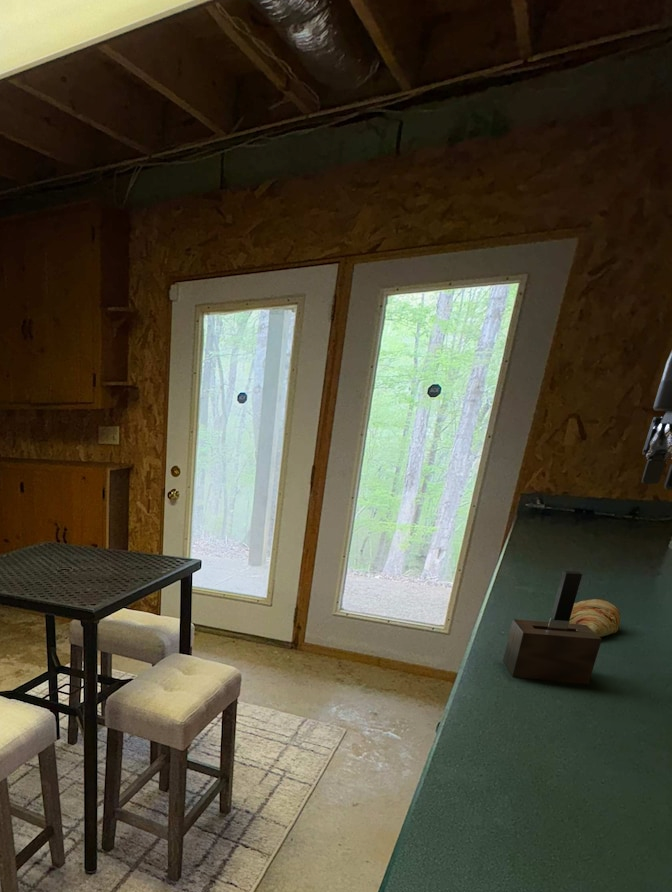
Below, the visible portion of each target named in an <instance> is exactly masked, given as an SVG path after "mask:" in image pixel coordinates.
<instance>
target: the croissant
mask: <svg viewBox="0 0 672 892" xmlns="http://www.w3.org/2000/svg"><path fill="white" fill-rule="evenodd" d="M620 623H621V613H620V610H619V609H618V608H617V607H616V606H615V605H614V604H613V603H611V602H609V601H607V600H606V599H600V598H591V599H584V600H581V601H577V602H574V606H573V609H572V613H571V617H570V621H569V624H581V625H587V626H588V627H589V628H590V629H591V630H592V631H593V632H594V633H596V634H597V635H598V636H599V637H600V638H601V637H602V638H603V637H605V636H609V635H611V634H615V633H617V632H618V631H619V628H620Z"/></svg>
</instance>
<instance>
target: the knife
mask: <svg viewBox="0 0 672 892" xmlns="http://www.w3.org/2000/svg"><path fill="white" fill-rule="evenodd" d="M582 576H583V573H582V572H580V571H576V570H575V571H574V570H563V571H562V573H561V578H560V582H559V585H558V589H557V592H556V596H555V600H554V603H553V608H552V611H551V614H550V615H551V616H550V618H549V621H548V622H549V625H548V628H547V630H557V631H567V628H568V625H569V621H570V617H571V613H572V609H573V606H574V604H575V603H576V598H577V595H578V591H579V587H580V584H581V581H582Z"/></svg>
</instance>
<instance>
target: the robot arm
mask: <svg viewBox="0 0 672 892" xmlns="http://www.w3.org/2000/svg"><path fill="white" fill-rule="evenodd" d="M652 407H653V410H654V411H657V412H665V413H664V415H663V416H654V417H653V419H652V420H651V424H650V427H649V430H648V433H647V436H646V438H645V443H644V446H643V449H642V450H641V451H642V452H641V453H642V455H644V456H645V460H647V461H646V464H645V467H644V471H643V473H642V477H641V483H643V484H645V485H646V484H648V485H651V484H652V485H656V484H659V483H660V481H661V478H662V475H663V472H664V469H665V465H666V461H667V458H668V457H669V455H670V454H671V458H672V350H671V351H670V353H669V356H668V358H667V359H666V362H665V365H664V369H663V373H662V376H661V379H660V383H659V386H658V389H657V392H656V396H655V400H654V402H653V406H652ZM663 488H664V489H665V490H668V491H669V490H670V491H672V464H670V466H669V469H668V473H667V475H666V478H665V481H664V485H663Z"/></svg>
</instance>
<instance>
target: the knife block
mask: <svg viewBox="0 0 672 892" xmlns="http://www.w3.org/2000/svg"><path fill="white" fill-rule="evenodd" d="M548 625H549V621H540V620H525V619H515V618H514V619H512V621H511V626H510V629H509V633H508V638H507V641H506V646H505V649H504V654H503V657H502V662H503V664H504V665H505V667H506V668H507V670H508V672H509V674H510V675H511V676H512V678H522V679H523V678H524V679H533V680H541V681H550V682H552V681H553V682H561V683H562V682H563V683H571V684H580V685H581V684H582V685H589V683H590V680H591V677H592V674H593V670H594V667H595V663H596V660H597V656H598V654H599V650H600V647H601V644H602V640H603V639H602V638H601V637H599V636H598V635H597V634H596V633H594V632H593V631H592V630H591V629H590V628H589V627H588V626H587V625H581V624H569V625H568V628H567V631H557V630H547V628H548Z"/></svg>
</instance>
